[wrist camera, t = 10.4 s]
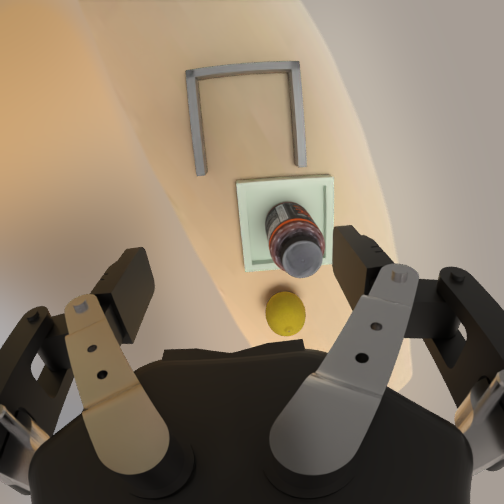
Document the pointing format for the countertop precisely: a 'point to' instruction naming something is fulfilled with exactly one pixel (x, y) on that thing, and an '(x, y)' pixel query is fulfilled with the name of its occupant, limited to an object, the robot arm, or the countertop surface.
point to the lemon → (285, 313)
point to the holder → (245, 69)
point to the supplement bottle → (294, 240)
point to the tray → (275, 192)
